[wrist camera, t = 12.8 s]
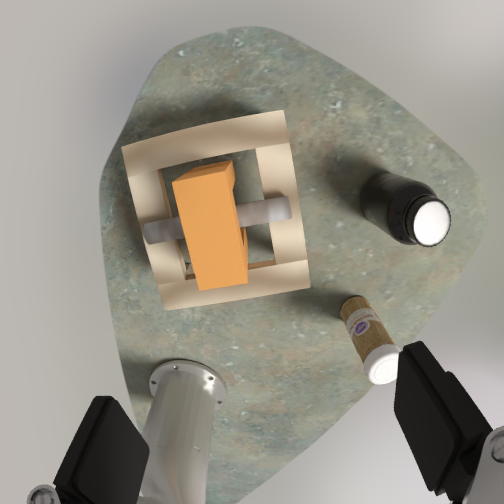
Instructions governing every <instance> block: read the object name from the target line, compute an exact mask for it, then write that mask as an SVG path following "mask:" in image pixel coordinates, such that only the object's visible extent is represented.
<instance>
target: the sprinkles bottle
mask: <svg viewBox="0 0 504 504" xmlns="http://www.w3.org/2000/svg"><path fill="white" fill-rule="evenodd" d="M340 316H341V319H342V320H343V321H344V323H345V325H346V328H347V331H348V333H349V335H350V337H351V339H352V341H353V344H354V346H355V348H356V350H357V352H358V354H359V355H360V357H361V359H362V362H363V364H364V370H365V372H366V375H367V377H368V379H369V380H370V381H371V382H372V383H375V384H386V383H389V382H391V381H393V380H394V379H396V378H397V369H398V355H399V352H401V350H400V349H399V348H398V347H397V346H396V345H395V344H394V342H393V341H392V339H391V337H390V335H389V333H388V331H387V330H386V328H385V327H384V325H383V323H382V322H381V320H380V319H379V317H378V316H377V314H376V313H374V311H373V309H372V308H371V307H370V304H369V302H368V300H367V299H365V298H363V297H352V298H350V299H348V300H347V301H346V302H345V303H344V304H343V305H342V307H341V310H340Z"/></svg>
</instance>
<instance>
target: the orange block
mask: <svg viewBox="0 0 504 504" xmlns="http://www.w3.org/2000/svg"><path fill="white" fill-rule="evenodd" d="M235 179H236V177H235V172H234V167H233V162H232V160H229V161H224V162H219V163H214V164H209V165H204V166H199V167H195V168H193V169H191V170H190V171H188V172H187V173H185V174H184V175H182V176H181V177H179V178H178V179H176V180H175V181H173V182H172V186H173V190H174V194H175V198H176V203H177V207H178V211H179V215H180V219H181V223H182V227H183V231H184V235H185V239H186V243H187V247H188V250H189V254H190V258H191V262H192V265H193V269H194V273H195V276H196V280H197V283H198V287H199V291H201V290H208V289H214V288H221V287H227V286H233V285H239V284H246V283H248V239H247V234H246V229H245V227H241V228H240V226H239V221H238V216H237V211H236V206H235V201H234V196H233V191H232V190H233V187H234V183H235Z"/></svg>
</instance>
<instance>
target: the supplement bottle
mask: <svg viewBox="0 0 504 504" xmlns="http://www.w3.org/2000/svg"><path fill="white" fill-rule="evenodd" d="M360 204H361V208H362V211H363V213H364V215H365V216H366V218H367V219H368V220H369V221H370V222H372V223H373V224H374V225H376V226H377V227H379V228H380V229H381V230H383V231H384V232H385V233H387V234H388V235H390V236H391V237H392V238H394V239H395V240H397V241H398V242H400V243H402V244H405V245H416V244H419V245H422V246H423V247H433V246H436V245H437V244H439V243H440V242H441V241H443V239H444V238H445V237H446V235H447V234H448V231H449V227H450V222H451V219H450V218H451V215H450V211H449V210H448V207H447V206H446V204H445V203H444V202H443V201H442V200H440V199H438V198H437V196H436V194H435V192H434V191H433V190H432V189H431V188H430V187H429V186H428V185H426V184H424V183H422V182H419V181H416V180H412V179H409V178H405V177H402V176H398V175H395V174H391V173H379V174H377V175H374V176H373V177H371V178H370V179H369V180H368V181H367V182H366V183H365V185H364V187H363V189H362V192H361V197H360Z"/></svg>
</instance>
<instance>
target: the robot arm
mask: <svg viewBox="0 0 504 504" xmlns="http://www.w3.org/2000/svg"><path fill="white" fill-rule="evenodd" d="M149 388H150V392H151V394H152V395H153V397H154V399H153V402H152V405H151V408H150V411H149V414H148V417H147V420H146V423H145V426H144V429H143V432H142V436H141V434H140V433H139V432H138V430H137V429H136V427H135V426H134V425H133V423H132V422H131V420H130V419H129V417H128V416H127V415H126V413H125V411H124V410H123V408H122V407H121V405H120V404H119V402H118V401H117V400H115V399H114V398H113V397H112V396H96V397H95V398H94V399H93V401H92V403H91V405H90V406H89V408H88V410H87V412H86V414H85V416H84V418H83V420H82V422H81V424H80V426H79V428H78V430H77V433H76V434H75V436H74V438H73V440H72V442H71V445H70V447H69V449H68V451H67V453H66V455H65V457H64V459H63V462H62V464H61V466H60V468H59V470H58V473H57V475H56V477H55V479H54V482H53V484H54V485H56V488H55V489H54V488H53V487H51V486H49V485H40V486H37V487H35V488H34V489H33V490H32V491H31V492H30V494H29V495H28V499H27V504H205V502H206V484H207V474H208V463H209V454H210V445H211V436H212V428H213V419H214V413H215V412H217V411H218V410H219V409H220V408H221V407H222V406H223V405H224V403H225V400H226V387H225V384H224V382H223V381H222V379H221V378H220V377H219V376H218V374H217V373H215V372H214V371H213V370H211V369H210V368H208V367H206V366H204V365H202V364H199V363H196V362H192V361H186V360H173V361H169V362H165V363H163V364H161V365H159V366H158V367H156V369H155V370H154V371H153V372H152V375H151V377H150V380H149ZM394 412H395V415H396V418H397V420H398V422H399V424H400V426H401V428H402V431H403V433H404V435H405V437H406V440H407V442H408V444H409V446H410V449H411V450H412V453H413V455H414V458H415V460H416V462H417V465H418V467H419V469H420V472H421V474H422V476H423V479H424V481H425V484H426V486H427V488H428V490H429V491H434V492H435V494H436V496H439V495H441V494H442V493H445V492H446V494H447V496H448V498H449V500H450V501H451V502H450V504H504V426H502V427H499V428H496V429H495V430H493V429H492V428H491V426H490V425H489V423H488V422H487V420H486V419H485V417H484V416H483V414H482V413H481V411H480V410H479V409H478V407H477V406H476V404H475V403H474V401H473V400H472V399H471V397H470V396H469V395H468V393H467V392H466V390H465V389H464V387H463V386H462V385H461V383H460V382H459V381H458V379H457V378H456V377H455V375H454V374H453V373H452V372H449V371H447V372H445V371H444V370H443V368H442V367H441V366H440V364H439V363H438V361H437V360H436V359H435V358H434V356H433V355H432V353H431V352H430V351H429V350H428V348H427V347H426V346H425V345H424V343H423V342H422V341H417V342H415V343H412V344H409V345H405V346H404V347H403V351H401V352H399V355H398V369H397V382H396V391H395V401H394ZM140 490H141V492H142V494H143V496H144V497H142V496H139V492H140Z"/></svg>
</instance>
